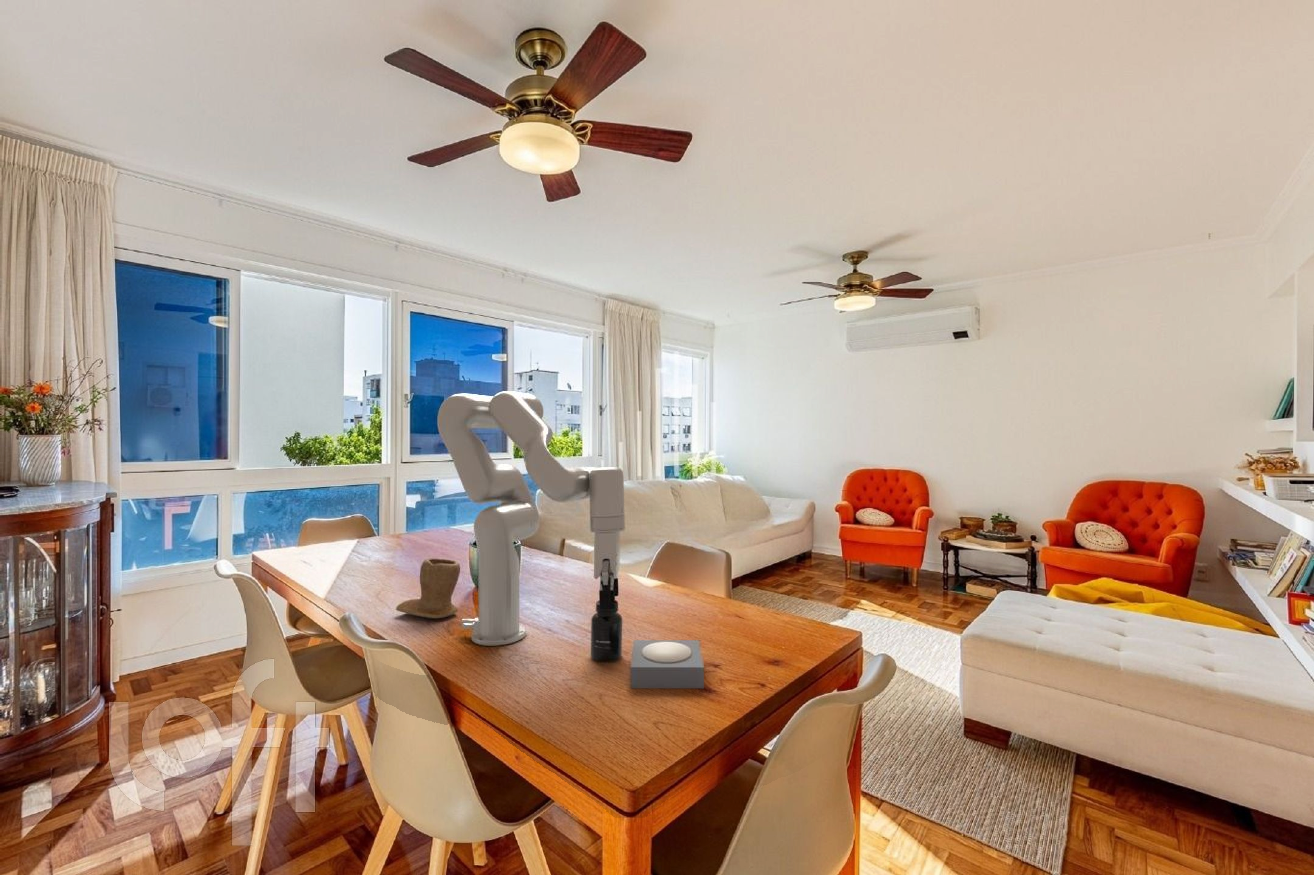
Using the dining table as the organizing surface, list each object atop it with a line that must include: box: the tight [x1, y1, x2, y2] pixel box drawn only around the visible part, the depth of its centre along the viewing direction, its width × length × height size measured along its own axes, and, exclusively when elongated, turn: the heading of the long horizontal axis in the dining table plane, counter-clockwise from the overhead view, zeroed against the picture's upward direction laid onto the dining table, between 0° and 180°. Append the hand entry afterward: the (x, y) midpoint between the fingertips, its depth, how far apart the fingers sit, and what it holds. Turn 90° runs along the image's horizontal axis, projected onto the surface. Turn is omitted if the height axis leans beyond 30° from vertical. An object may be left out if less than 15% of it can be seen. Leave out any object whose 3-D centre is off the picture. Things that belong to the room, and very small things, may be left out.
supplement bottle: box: [590, 599, 623, 663], centre depth 119 cm, size 7×7×12 cm
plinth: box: [630, 639, 705, 689], centre depth 111 cm, size 14×14×4 cm
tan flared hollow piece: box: [395, 557, 461, 619], centre depth 148 cm, size 15×12×15 cm
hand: (609, 602), depth 119 cm, fingers open, 9 cm apart
